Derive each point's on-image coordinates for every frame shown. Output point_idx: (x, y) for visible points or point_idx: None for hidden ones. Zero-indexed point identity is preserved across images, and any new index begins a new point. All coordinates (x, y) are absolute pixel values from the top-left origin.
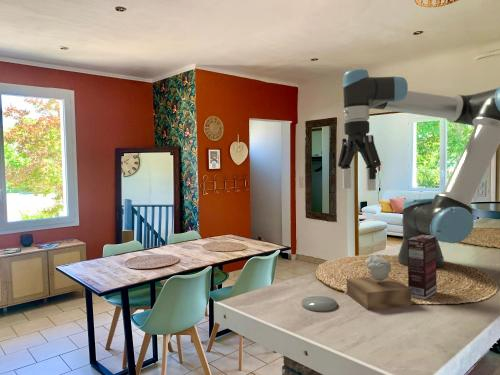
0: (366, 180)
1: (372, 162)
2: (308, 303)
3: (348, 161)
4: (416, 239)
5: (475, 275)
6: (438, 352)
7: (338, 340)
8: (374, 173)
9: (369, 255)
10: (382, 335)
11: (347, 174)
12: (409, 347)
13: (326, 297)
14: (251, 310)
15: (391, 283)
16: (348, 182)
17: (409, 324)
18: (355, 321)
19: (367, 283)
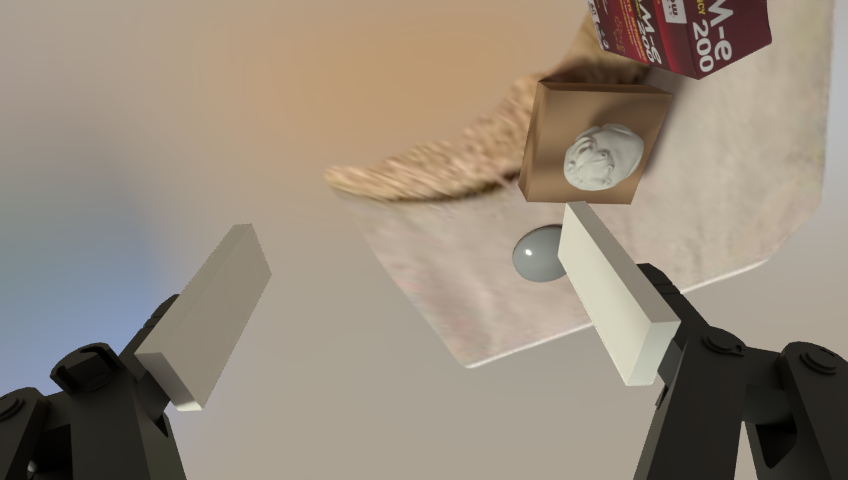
0: (587, 303)
1: (787, 438)
2: (544, 274)
3: (166, 469)
4: (735, 53)
5: None
6: (802, 171)
7: (674, 274)
8: (679, 307)
9: (590, 185)
10: (706, 215)
11: (212, 329)
12: (760, 201)
13: (532, 238)
14: (516, 340)
15: (615, 119)
16: (242, 271)
17: (710, 151)
18: (639, 228)
19: None
